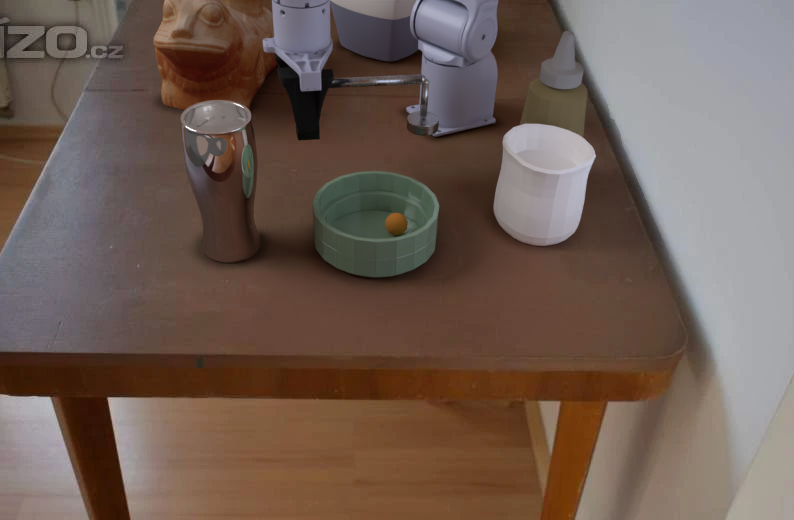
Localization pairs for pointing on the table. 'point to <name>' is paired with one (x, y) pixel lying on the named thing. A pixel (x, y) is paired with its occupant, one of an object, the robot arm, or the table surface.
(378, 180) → the soup bowl
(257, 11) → the frog figurine
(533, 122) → the squeeze bottle
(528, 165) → the cup
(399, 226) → the orange ball
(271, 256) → the table surface
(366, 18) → the grey and white container
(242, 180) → the beer glass
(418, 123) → the ladle
